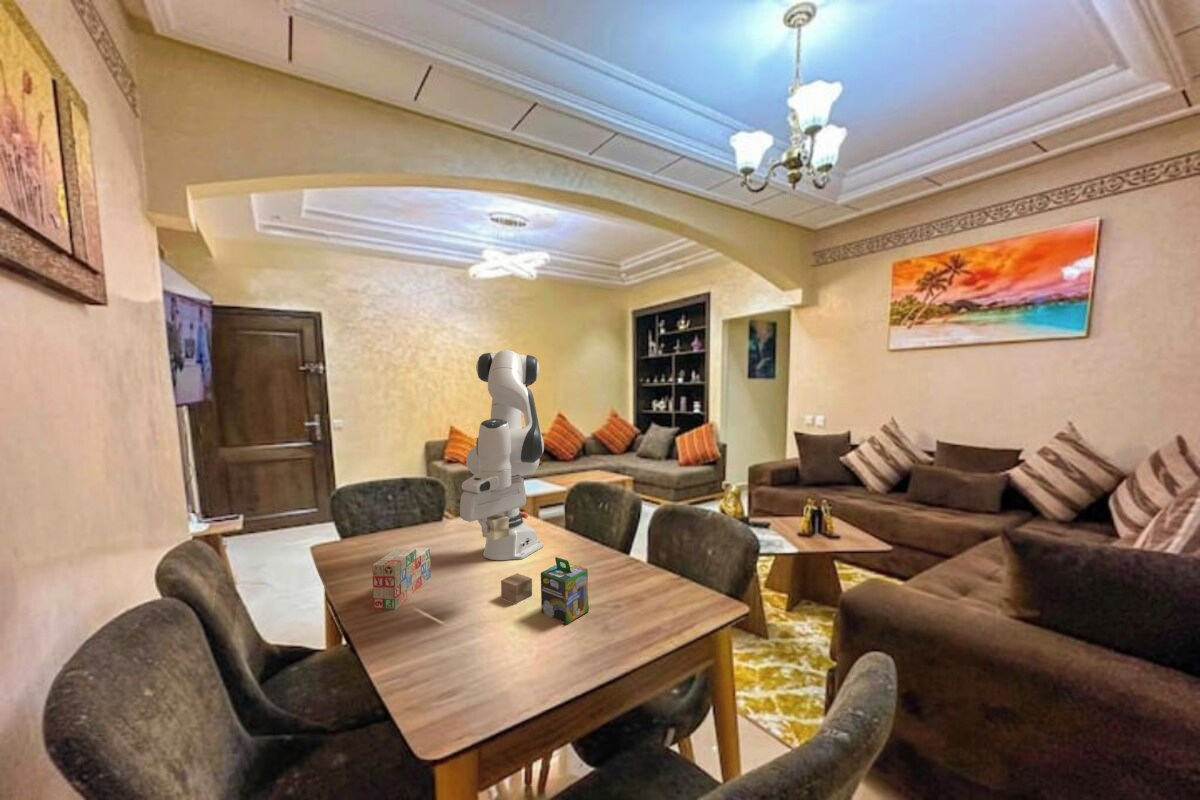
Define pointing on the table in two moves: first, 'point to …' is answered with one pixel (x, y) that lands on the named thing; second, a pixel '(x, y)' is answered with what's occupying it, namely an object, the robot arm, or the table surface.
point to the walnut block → (516, 588)
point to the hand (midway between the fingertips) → (495, 529)
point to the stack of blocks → (399, 576)
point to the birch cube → (497, 527)
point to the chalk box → (564, 591)
